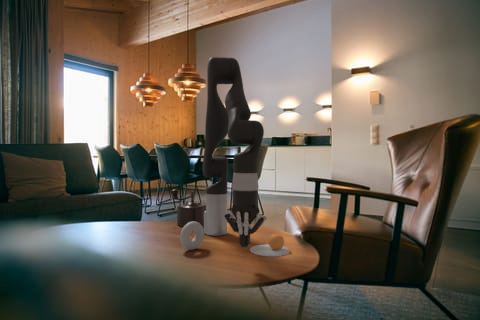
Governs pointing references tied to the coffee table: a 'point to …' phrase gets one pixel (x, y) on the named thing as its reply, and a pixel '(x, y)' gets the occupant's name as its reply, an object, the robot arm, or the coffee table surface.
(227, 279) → the coffee table surface
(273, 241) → the ball
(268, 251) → the disc
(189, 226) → the donut
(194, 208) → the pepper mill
